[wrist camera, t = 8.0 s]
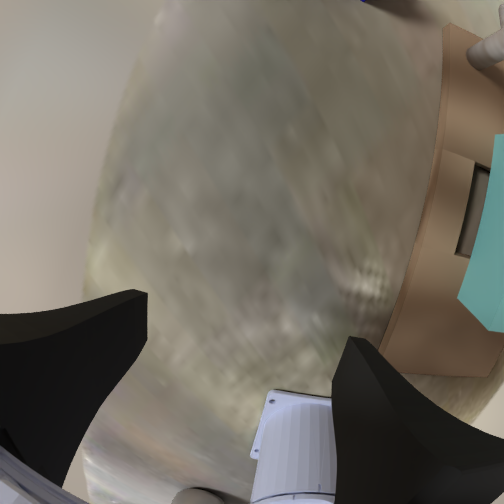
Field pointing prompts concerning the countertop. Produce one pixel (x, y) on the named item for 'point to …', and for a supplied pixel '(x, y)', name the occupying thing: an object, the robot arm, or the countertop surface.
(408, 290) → the slotted wooden board
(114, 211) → the countertop surface
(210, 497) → the plastic bottle
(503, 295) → the teal rectangular block
